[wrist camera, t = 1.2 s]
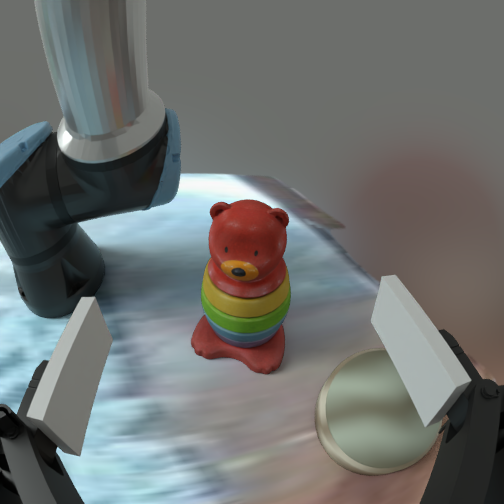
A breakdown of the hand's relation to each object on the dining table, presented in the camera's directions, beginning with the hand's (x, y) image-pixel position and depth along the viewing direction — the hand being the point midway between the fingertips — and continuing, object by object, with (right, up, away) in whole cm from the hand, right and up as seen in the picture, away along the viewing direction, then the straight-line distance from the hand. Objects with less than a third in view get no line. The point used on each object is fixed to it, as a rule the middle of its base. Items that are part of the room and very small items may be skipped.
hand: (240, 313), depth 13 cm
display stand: (+15, -15, +15) cm, 26 cm away
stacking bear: (-1, -7, +23) cm, 24 cm away
